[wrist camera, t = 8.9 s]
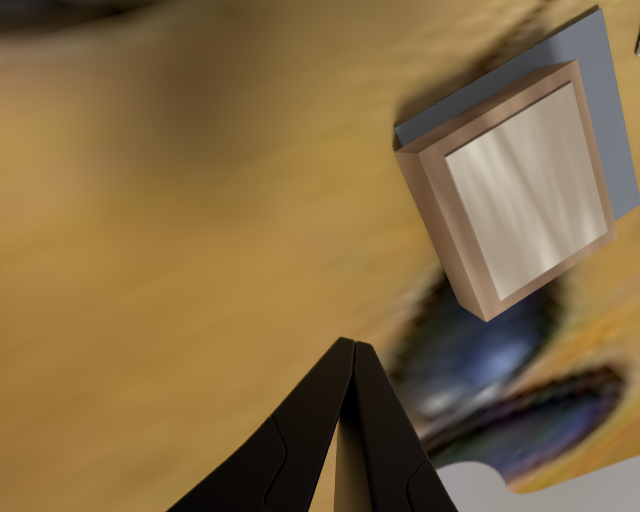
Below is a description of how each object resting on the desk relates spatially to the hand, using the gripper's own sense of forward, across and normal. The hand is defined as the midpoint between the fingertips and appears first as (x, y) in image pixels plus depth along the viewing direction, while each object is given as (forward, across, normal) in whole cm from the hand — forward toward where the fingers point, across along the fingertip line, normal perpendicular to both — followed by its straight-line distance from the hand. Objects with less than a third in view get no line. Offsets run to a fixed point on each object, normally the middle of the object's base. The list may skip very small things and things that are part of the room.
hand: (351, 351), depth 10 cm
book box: (+12, +4, -3) cm, 13 cm away
